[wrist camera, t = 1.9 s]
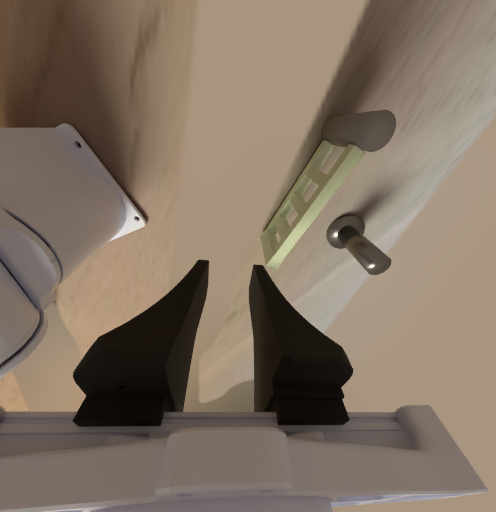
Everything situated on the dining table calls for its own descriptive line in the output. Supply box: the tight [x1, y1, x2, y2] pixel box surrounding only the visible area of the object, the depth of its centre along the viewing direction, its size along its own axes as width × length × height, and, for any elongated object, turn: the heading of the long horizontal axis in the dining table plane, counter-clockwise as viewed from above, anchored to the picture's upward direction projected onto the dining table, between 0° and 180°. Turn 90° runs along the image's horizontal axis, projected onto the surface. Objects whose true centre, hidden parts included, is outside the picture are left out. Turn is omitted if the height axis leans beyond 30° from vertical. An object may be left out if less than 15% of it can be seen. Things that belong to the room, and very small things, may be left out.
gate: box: [261, 110, 396, 270], centre depth 16 cm, size 12×2×6 cm, turn 152°
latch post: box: [327, 215, 391, 275], centre depth 19 cm, size 4×4×6 cm
